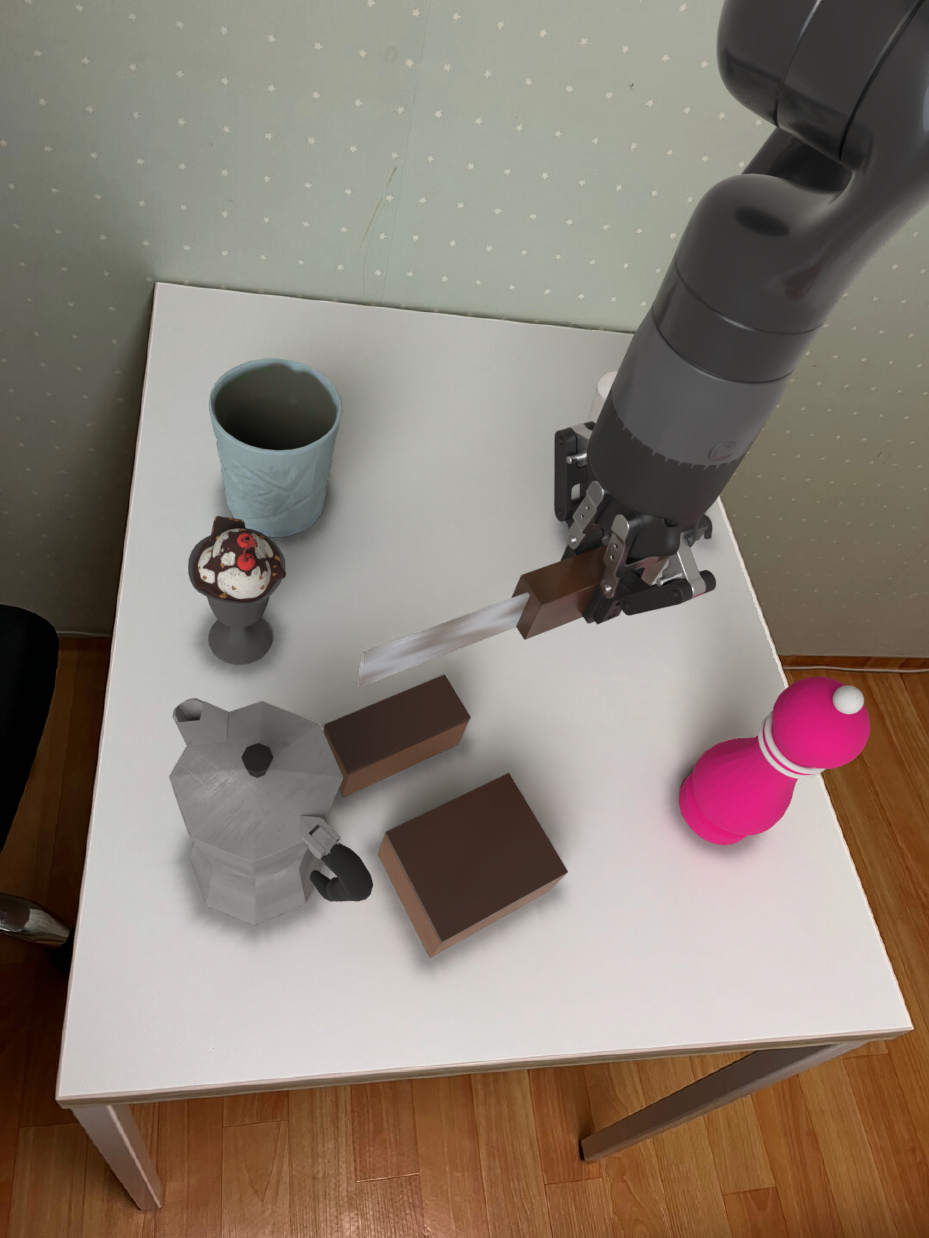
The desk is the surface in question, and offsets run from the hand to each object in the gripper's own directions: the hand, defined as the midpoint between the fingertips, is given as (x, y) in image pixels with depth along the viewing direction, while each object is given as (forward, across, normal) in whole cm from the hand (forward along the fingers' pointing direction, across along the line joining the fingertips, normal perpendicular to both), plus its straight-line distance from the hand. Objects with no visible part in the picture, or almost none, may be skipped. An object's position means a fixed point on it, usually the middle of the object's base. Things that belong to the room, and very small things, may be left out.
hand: (583, 597), depth 57 cm
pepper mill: (+17, -14, -10) cm, 24 cm away
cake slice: (+17, +1, +12) cm, 20 cm away
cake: (+17, -10, +11) cm, 22 cm away
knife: (0, 0, +6) cm, 6 cm away
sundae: (+17, +15, +18) cm, 29 cm away
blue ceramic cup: (+17, +27, +10) cm, 33 cm away
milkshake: (+17, +22, -23) cm, 36 cm away
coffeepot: (+17, -3, +23) cm, 29 cm away
